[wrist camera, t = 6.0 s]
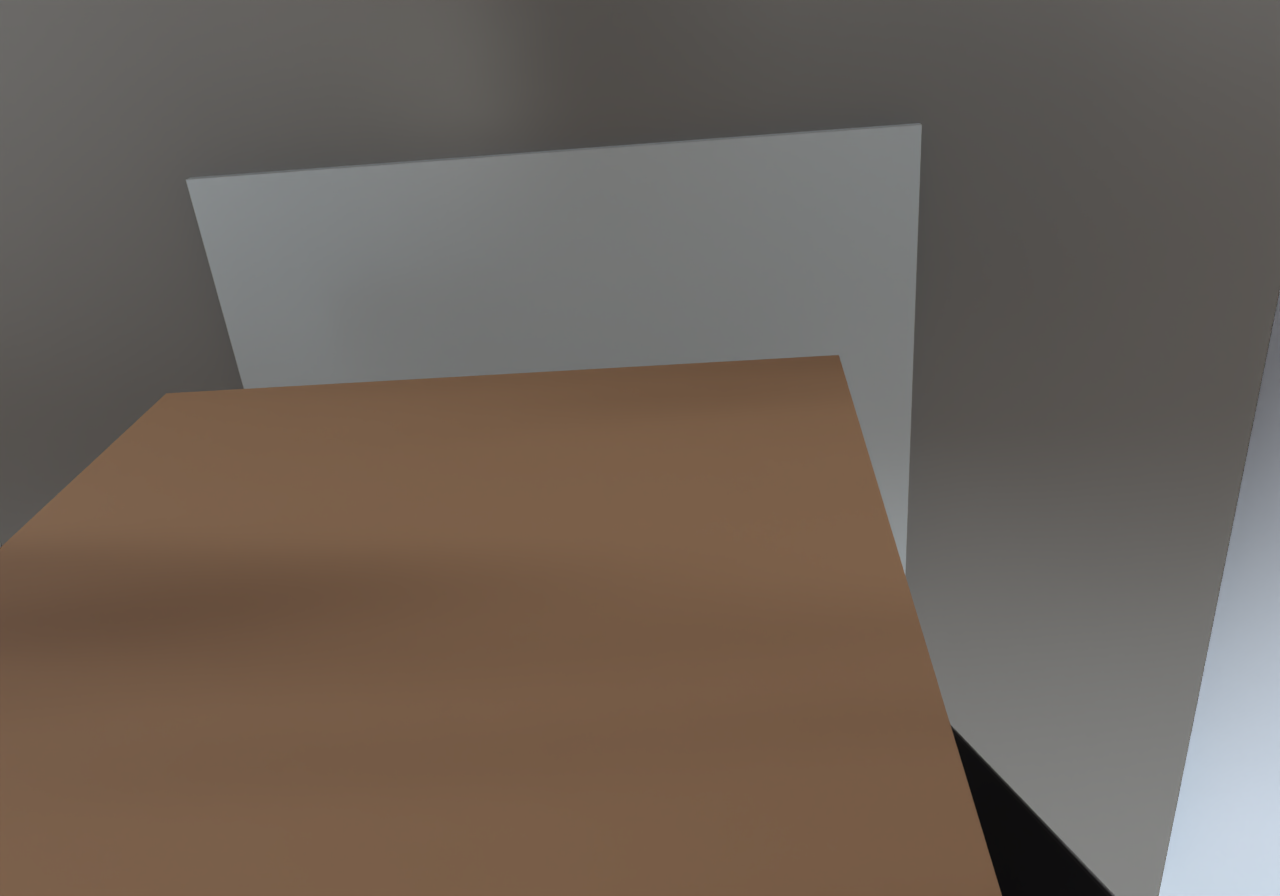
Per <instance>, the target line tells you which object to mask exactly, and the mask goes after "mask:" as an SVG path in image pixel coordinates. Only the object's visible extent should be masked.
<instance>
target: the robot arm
mask: <svg viewBox="0 0 1280 896" xmlns="http://www.w3.org/2000/svg"><path fill="white" fill-rule="evenodd" d="M951 728H952V732H953V735H954V738H955V742H956V745H957V748H958V752H959V755H960V758H961V762H962V765H963V768H964V772H965V775H966V778H967V781H968V785H969V788H970V791H971V795H972V798H973V801H974V805H975V808H976V811H977V815H978V818H979V821H980V825H981V828H982V831H983V835H984V838H985V841H986V844H987V848H988V851H989V854H990V858H991V861H992V864H993V868H994V871H995V874H996V878H997V881H998V884H999V888H1000V891H1001V894H1002V896H1115V895H1114V894H1113V893H1112V892H1111V891H1110V890H1109V889H1108V887H1107V886H1106V885H1105V884H1104V883H1103V882H1102V881H1101V880H1100V879H1099V878H1098V877H1097V876H1096V875H1095V874H1094V873H1093V872H1092V871H1091V870H1090V869H1089V868H1088V867H1087V866H1086V865H1085V864H1084V863H1083V862H1082V860H1081V859H1080V858H1079V857H1078V856H1077V855H1076V854H1075V853H1074V852H1073V851H1072V850H1071V849H1070V848H1069V847H1068V846H1067V845H1066V844H1065V843H1064V842H1063V841H1062V840H1061V839H1060V838H1059V837H1058V836H1057V835H1056V834H1055V832H1054V831H1053V830H1052V829H1051V828H1050V827H1049V826H1048V825H1047V824H1046V823H1045V822H1044V821H1043V820H1042V819H1041V818H1040V817H1039V816H1038V815H1037V814H1036V813H1035V812H1034V811H1033V810H1032V809H1031V808H1030V807H1029V805H1028V804H1027V803H1026V802H1025V801H1024V800H1023V799H1022V798H1021V797H1020V796H1019V795H1018V794H1017V793H1016V792H1015V791H1014V790H1013V789H1012V788H1011V787H1010V786H1009V785H1008V784H1007V783H1006V782H1005V781H1004V780H1003V779H1002V777H1001V776H1000V775H999V774H998V773H997V772H996V771H995V770H994V769H993V768H992V767H991V766H990V765H989V764H988V763H987V762H986V761H985V760H984V759H983V758H982V757H981V756H980V755H979V754H978V753H977V752H976V750H975V749H974V748H973V747H972V746H971V745H970V744H969V743H968V742H967V741H966V740H965V739H964V738H963V737H962V736H961V735H960V734H959V733H958V732H957V731H956V730H955V729H954V728H953V727H952V726H951Z"/></svg>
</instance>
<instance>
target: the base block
mask: <svg viewBox="0 0 1280 896" xmlns="http://www.w3.org/2000/svg"><path fill="white" fill-rule="evenodd" d="M0 896H1002V894H1001V891H1000V888H999V884H998V881H997V878H996V874H995V871H994V868H993V864H992V861H991V858H990V854H989V851H988V848H987V844H986V841H985V838H984V835H983V831H982V828H981V825H980V821H979V818H978V815H977V811H976V808H975V805H974V801H973V798H972V795H971V791H970V788H969V785H968V781H967V778H966V775H965V772H964V768H963V765H962V762H961V758H960V755H959V752H958V748H957V745H956V742H955V738H954V735H953V732H952V728H951V725H950V722H949V719H948V715H947V712H946V709H945V705H944V702H943V699H942V695H941V692H940V689H939V685H938V682H937V679H936V675H935V672H934V669H933V665H932V662H931V659H930V656H929V652H928V649H927V646H926V642H925V639H924V636H923V632H922V629H921V626H920V622H919V619H918V616H917V612H916V609H915V606H914V602H913V599H912V596H911V593H910V589H909V586H908V583H907V579H906V576H905V573H904V569H903V566H902V563H901V559H900V556H899V553H898V549H897V546H896V543H895V540H894V536H893V533H892V530H891V526H890V523H889V520H888V516H887V513H886V510H885V506H884V503H883V500H882V496H881V493H880V490H879V486H878V483H877V480H876V477H875V473H874V470H873V467H872V463H871V460H870V457H869V453H868V450H867V447H866V443H865V440H864V437H863V433H862V430H861V427H860V423H859V420H858V417H857V414H856V410H855V407H854V404H853V400H852V397H851V394H850V390H849V387H848V384H847V380H846V377H845V374H844V370H843V367H842V364H841V361H840V357H839V355H830V356H813V357H795V358H778V359H760V360H743V361H725V362H708V363H690V364H672V365H655V366H637V367H620V368H602V369H585V370H567V371H549V372H532V373H514V374H497V375H479V376H462V377H444V378H427V379H409V380H391V381H374V382H356V383H339V384H321V385H304V386H286V387H268V388H251V389H233V390H216V391H198V392H181V393H166V394H165V395H164V396H163V397H162V398H161V399H160V400H159V401H157V402H156V403H155V404H154V405H153V406H152V407H151V408H150V409H149V410H148V411H147V412H146V413H145V414H143V415H142V416H141V417H140V418H139V419H138V420H137V421H136V422H135V423H134V424H133V425H132V426H131V427H129V428H128V429H127V430H126V431H125V432H124V433H123V434H122V435H121V436H120V437H119V438H118V439H117V440H115V441H114V442H113V443H112V444H111V445H110V446H109V447H108V448H107V449H106V450H105V451H104V452H103V453H101V454H100V455H99V456H98V457H97V458H96V459H95V460H94V461H93V462H92V463H91V464H90V465H89V466H88V467H86V468H85V469H84V470H83V471H82V472H81V473H80V474H79V475H78V476H77V477H76V478H75V479H74V480H72V481H71V482H70V483H69V484H68V485H67V486H66V487H65V488H64V489H63V490H62V491H61V492H60V493H58V494H57V495H56V496H55V497H54V498H53V499H52V500H51V501H50V502H49V503H48V504H47V505H46V506H44V507H43V508H42V509H41V510H40V511H39V512H38V513H37V514H36V515H35V516H34V517H33V518H32V519H30V520H29V521H28V522H27V523H26V524H25V525H24V526H23V527H22V528H21V529H20V530H19V531H18V532H16V533H15V534H14V535H13V536H12V537H11V538H10V539H9V540H8V541H7V542H6V543H5V544H4V545H3V546H1V547H0Z"/></svg>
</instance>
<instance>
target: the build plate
mask: <svg viewBox="0 0 1280 896" xmlns="http://www.w3.org/2000/svg"><path fill="white" fill-rule="evenodd" d="M1279 291H1280V0H0V544H1V546H3V545H4V544H5V543H6V542H7V541H8V540H9V539H10V538H11V537H12V536H13V535H14V534H15V533H16V532H18V531H19V530H20V529H21V528H22V527H23V526H24V525H25V524H26V523H27V522H28V521H29V520H30V519H32V518H33V517H34V516H35V515H36V514H37V513H38V512H39V511H40V510H41V509H42V508H43V507H44V506H46V505H47V504H48V503H49V502H50V501H51V500H52V499H53V498H54V497H55V496H56V495H57V494H58V493H60V492H61V491H62V490H63V489H64V488H65V487H66V486H67V485H68V484H69V483H70V482H71V481H72V480H74V479H75V478H76V477H77V476H78V475H79V474H80V473H81V472H82V471H83V470H84V469H85V468H86V467H88V466H89V465H90V464H91V463H92V462H93V461H94V460H95V459H96V458H97V457H98V456H99V455H100V454H101V453H103V452H104V451H105V450H106V449H107V448H108V447H109V446H110V445H111V444H112V443H113V442H114V441H115V440H117V439H118V438H119V437H120V436H121V435H122V434H123V433H124V432H125V431H126V430H127V429H128V428H129V427H131V426H132V425H133V424H134V423H135V422H136V421H137V420H138V419H139V418H140V417H141V416H142V415H143V414H145V413H146V412H147V411H148V410H149V409H150V408H151V407H152V406H153V405H154V404H155V403H156V402H157V401H159V400H160V399H161V398H162V397H163V396H164V395H165V394H166V393H181V392H198V391H216V390H233V389H251V388H268V387H286V386H304V385H321V384H339V383H356V382H374V381H391V380H409V379H427V378H444V377H462V376H479V375H497V374H514V373H532V372H549V371H567V370H585V369H602V368H620V367H637V366H655V365H672V364H690V363H708V362H725V361H743V360H760V359H778V358H795V357H813V356H830V355H839V357H840V361H841V364H842V367H843V370H844V374H845V377H846V380H847V384H848V387H849V390H850V394H851V397H852V400H853V404H854V407H855V410H856V414H857V417H858V420H859V423H860V427H861V430H862V433H863V437H864V440H865V443H866V447H867V450H868V453H869V457H870V460H871V463H872V467H873V470H874V473H875V477H876V480H877V483H878V486H879V490H880V493H881V496H882V500H883V503H884V506H885V510H886V513H887V516H888V520H889V523H890V526H891V530H892V533H893V536H894V540H895V543H896V546H897V549H898V553H899V556H900V559H901V563H902V566H903V569H904V573H905V576H906V579H907V583H908V586H909V589H910V593H911V596H912V599H913V602H914V606H915V609H916V612H917V616H918V619H919V622H920V626H921V629H922V632H923V636H924V639H925V642H926V646H927V649H928V652H929V656H930V659H931V662H932V665H933V669H934V672H935V675H936V679H937V682H938V685H939V689H940V692H941V695H942V699H943V702H944V705H945V709H946V712H947V715H948V719H949V722H950V725H951V726H952V727H953V728H954V729H955V730H956V731H957V732H958V733H959V734H960V735H961V736H962V737H963V738H964V739H965V740H966V741H967V742H968V743H969V744H970V745H971V746H972V747H973V748H974V749H975V750H976V752H977V753H978V754H979V755H980V756H981V757H982V758H983V759H984V760H985V761H986V762H987V763H988V764H989V765H990V766H991V767H992V768H993V769H994V770H995V771H996V772H997V773H998V774H999V775H1000V776H1001V777H1002V779H1003V780H1004V781H1005V782H1006V783H1007V784H1008V785H1009V786H1010V787H1011V788H1012V789H1013V790H1014V791H1015V792H1016V793H1017V794H1018V795H1019V796H1020V797H1021V798H1022V799H1023V800H1024V801H1025V802H1026V803H1027V804H1028V805H1029V807H1030V808H1031V809H1032V810H1033V811H1034V812H1035V813H1036V814H1037V815H1038V816H1039V817H1040V818H1041V819H1042V820H1043V821H1044V822H1045V823H1046V824H1047V825H1048V826H1049V827H1050V828H1051V829H1052V830H1053V831H1054V832H1055V834H1056V835H1057V836H1058V837H1059V838H1060V839H1061V840H1062V841H1063V842H1064V843H1065V844H1066V845H1067V846H1068V847H1069V848H1070V849H1071V850H1072V851H1073V852H1074V853H1075V854H1076V855H1077V856H1078V857H1079V858H1080V859H1081V860H1082V862H1083V863H1084V864H1085V865H1086V866H1087V867H1088V868H1089V869H1090V870H1091V871H1092V872H1093V873H1094V874H1095V875H1096V876H1097V877H1098V878H1099V879H1100V880H1101V881H1102V882H1103V883H1104V884H1105V885H1106V886H1107V887H1108V889H1109V890H1110V891H1111V892H1112V893H1113V894H1114V895H1115V896H1159V891H1160V886H1161V881H1162V876H1163V871H1164V866H1165V861H1166V856H1167V851H1168V846H1169V841H1170V836H1171V831H1172V826H1173V821H1174V816H1175V811H1176V806H1177V801H1178V796H1179V791H1180V786H1181V781H1182V776H1183V771H1184V766H1185V761H1186V756H1187V751H1188V746H1189V741H1190V736H1191V731H1192V726H1193V721H1194V716H1195V711H1196V706H1197V701H1198V696H1199V691H1200V686H1201V681H1202V676H1203V671H1204V666H1205V661H1206V656H1207V651H1208V646H1209V641H1210V636H1211V631H1212V626H1213V621H1214V616H1215V611H1216V606H1217V601H1218V596H1219V591H1220V586H1221V581H1222V576H1223V571H1224V566H1225V561H1226V556H1227V551H1228V546H1229V541H1230V536H1231V531H1232V526H1233V521H1234V516H1235V511H1236V506H1237V501H1238V496H1239V491H1240V486H1241V481H1242V476H1243V471H1244V466H1245V461H1246V456H1247V451H1248V446H1249V441H1250V436H1251V431H1252V426H1253V421H1254V416H1255V411H1256V406H1257V401H1258V396H1259V391H1260V386H1261V381H1262V376H1263V371H1264V366H1265V361H1266V356H1267V351H1268V346H1269V341H1270V336H1271V331H1272V326H1273V321H1274V316H1275V311H1276V306H1277V301H1278V296H1279Z"/></svg>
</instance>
